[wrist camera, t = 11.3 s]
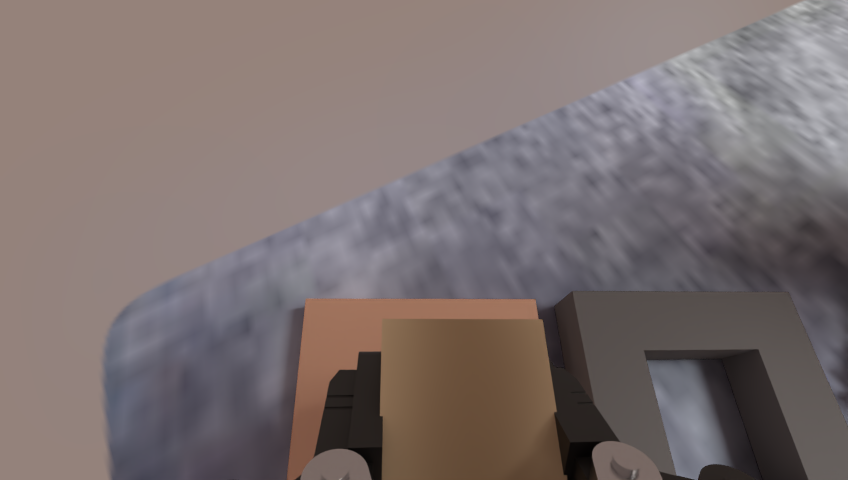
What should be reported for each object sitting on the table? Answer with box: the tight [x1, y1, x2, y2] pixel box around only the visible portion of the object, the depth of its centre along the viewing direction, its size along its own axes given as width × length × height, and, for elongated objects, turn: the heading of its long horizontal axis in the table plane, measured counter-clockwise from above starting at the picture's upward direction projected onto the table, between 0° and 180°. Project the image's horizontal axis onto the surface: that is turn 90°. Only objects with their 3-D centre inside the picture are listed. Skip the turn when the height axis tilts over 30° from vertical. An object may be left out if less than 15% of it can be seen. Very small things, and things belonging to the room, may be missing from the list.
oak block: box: [380, 319, 567, 480], centre depth 12 cm, size 4×4×7 cm
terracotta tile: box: [287, 299, 538, 480], centre depth 19 cm, size 12×12×1 cm
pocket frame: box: [554, 291, 848, 480], centre depth 20 cm, size 12×12×2 cm
